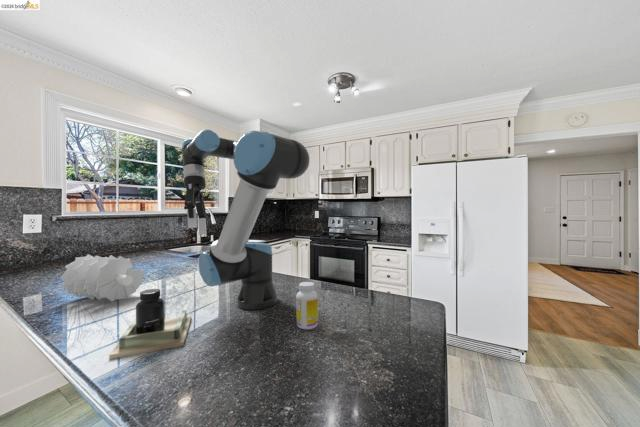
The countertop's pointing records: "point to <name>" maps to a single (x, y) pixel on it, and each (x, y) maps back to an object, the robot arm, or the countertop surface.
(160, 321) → the supplement bottle
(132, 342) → the beige tray
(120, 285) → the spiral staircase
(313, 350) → the countertop surface
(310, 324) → the supplement bottle
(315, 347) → the countertop surface
